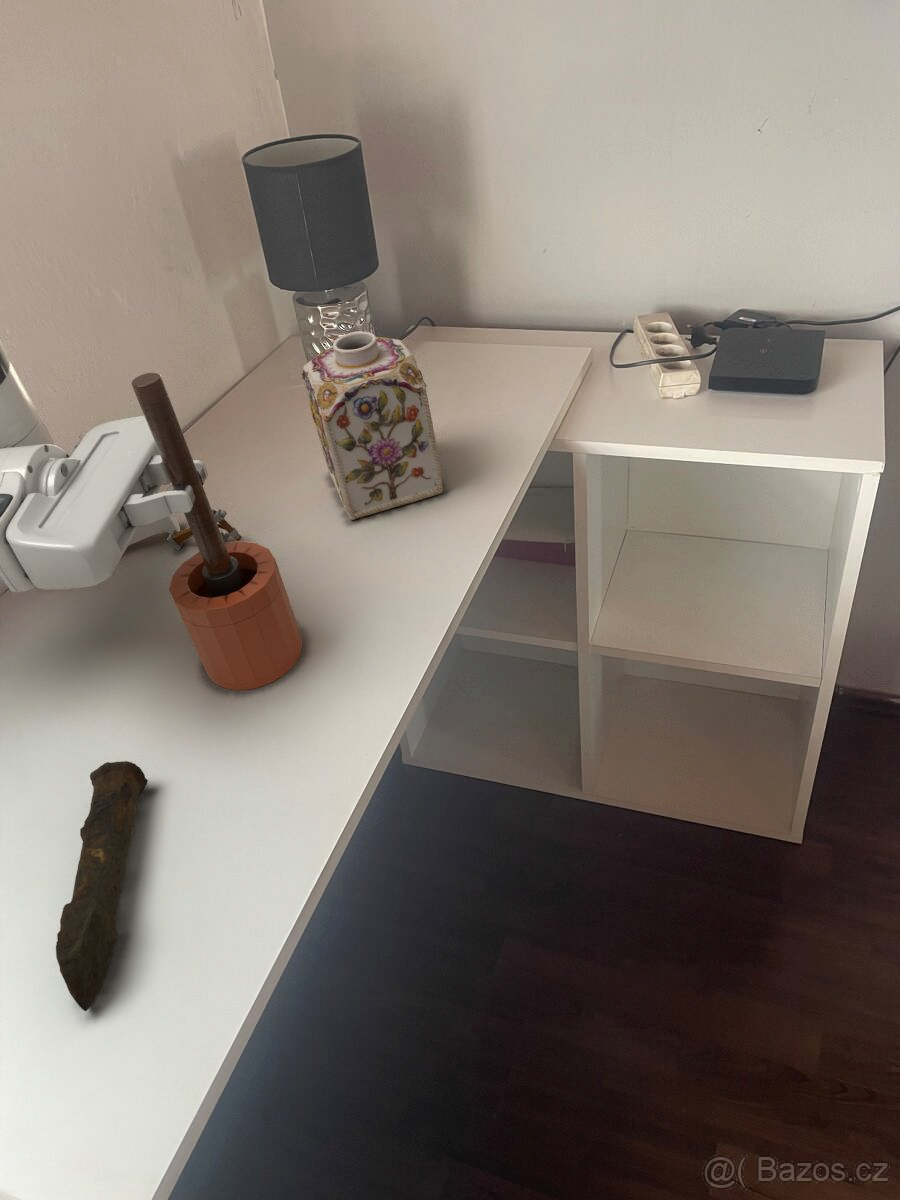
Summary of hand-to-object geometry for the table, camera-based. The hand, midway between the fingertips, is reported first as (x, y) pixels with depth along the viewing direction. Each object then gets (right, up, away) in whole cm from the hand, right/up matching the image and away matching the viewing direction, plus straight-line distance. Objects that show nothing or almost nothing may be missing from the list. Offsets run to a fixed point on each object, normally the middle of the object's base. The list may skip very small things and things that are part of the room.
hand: (197, 485), depth 70 cm
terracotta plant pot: (+2, -14, +13) cm, 19 cm away
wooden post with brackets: (-7, -3, +28) cm, 29 cm away
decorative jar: (+13, +4, +32) cm, 35 cm away
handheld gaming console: (-18, -4, +29) cm, 35 cm away
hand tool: (-4, -31, -5) cm, 32 cm away
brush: (+1, -9, +8) cm, 13 cm away
